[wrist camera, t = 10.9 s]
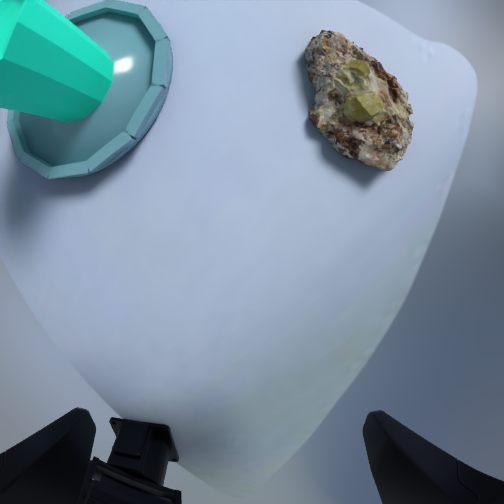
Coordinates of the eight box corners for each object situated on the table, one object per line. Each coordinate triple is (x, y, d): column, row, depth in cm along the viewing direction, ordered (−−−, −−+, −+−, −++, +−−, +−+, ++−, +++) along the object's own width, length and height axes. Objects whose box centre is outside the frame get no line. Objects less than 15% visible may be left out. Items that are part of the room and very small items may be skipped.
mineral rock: (446, 141, 16) (382, 183, 14) (407, 151, 20) (341, 191, 18) (372, 15, 14) (286, 23, 12) (343, 40, 18) (263, 58, 16)
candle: (54, 137, 15) (-79, 127, 4) (43, 74, 14) (-65, 36, 2) (122, 96, 15) (-1, 26, 4) (106, 34, 14) (15, -49, 2)
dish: (171, 168, 18) (163, 166, 16) (19, 187, 17) (4, 189, 15) (181, -3, 14) (176, -16, 12) (35, 39, 14) (24, 33, 12)
